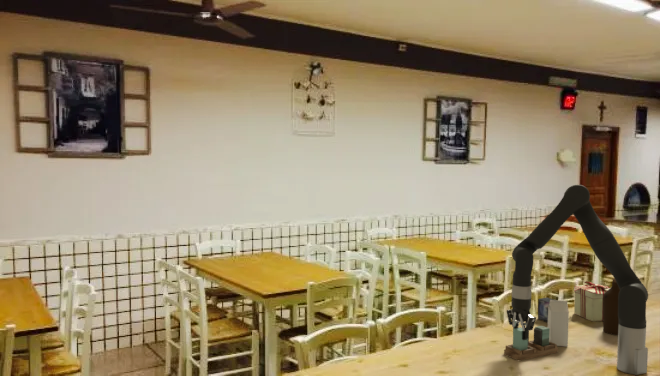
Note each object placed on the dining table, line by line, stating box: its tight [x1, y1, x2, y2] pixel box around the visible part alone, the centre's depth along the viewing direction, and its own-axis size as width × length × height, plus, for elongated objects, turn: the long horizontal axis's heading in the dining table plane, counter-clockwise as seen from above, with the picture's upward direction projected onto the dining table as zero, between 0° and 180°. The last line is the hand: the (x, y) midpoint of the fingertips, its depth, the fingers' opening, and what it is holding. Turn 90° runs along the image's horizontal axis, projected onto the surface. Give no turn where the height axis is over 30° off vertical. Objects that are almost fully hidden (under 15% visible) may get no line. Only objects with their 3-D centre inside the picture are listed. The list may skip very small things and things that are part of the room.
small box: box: [537, 297, 554, 323], centre depth 277 cm, size 11×6×10 cm, turn 25°
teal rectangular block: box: [512, 326, 530, 351], centre depth 227 cm, size 4×5×8 cm
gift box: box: [573, 281, 611, 322], centre depth 284 cm, size 17×18×17 cm
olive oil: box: [602, 277, 620, 336], centre depth 259 cm, size 11×11×25 cm
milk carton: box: [547, 299, 570, 347], centre depth 242 cm, size 7×7×19 cm
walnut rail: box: [503, 325, 559, 361], centre depth 230 cm, size 8×22×10 cm, turn 117°
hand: (520, 337), depth 226 cm, fingers closed on teal rectangular block, 4 cm apart
